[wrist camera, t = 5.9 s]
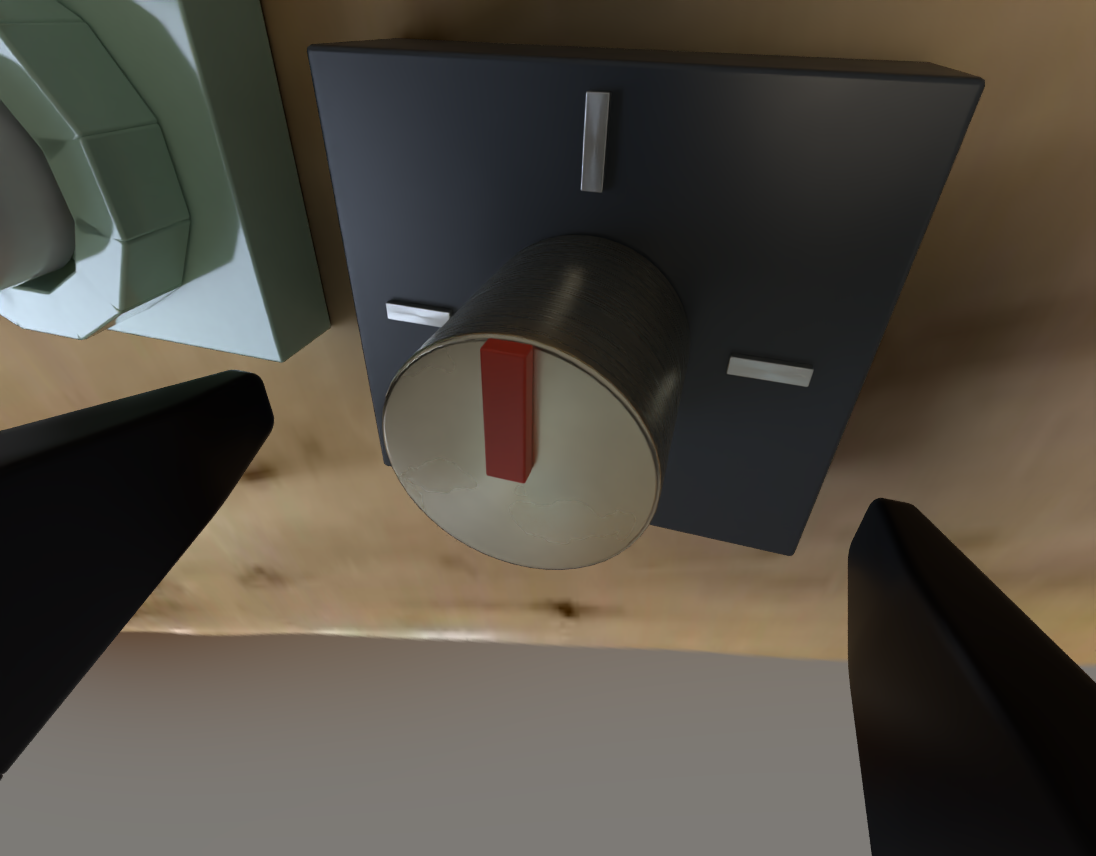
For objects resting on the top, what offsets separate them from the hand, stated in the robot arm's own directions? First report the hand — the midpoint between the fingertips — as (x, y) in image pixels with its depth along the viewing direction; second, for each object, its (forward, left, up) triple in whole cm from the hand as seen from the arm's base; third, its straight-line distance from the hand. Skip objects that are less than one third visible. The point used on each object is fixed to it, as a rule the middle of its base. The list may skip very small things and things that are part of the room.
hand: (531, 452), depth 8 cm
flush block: (-13, +2, -6) cm, 15 cm away
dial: (0, 0, -3) cm, 3 cm away
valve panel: (0, 0, -6) cm, 7 cm away
